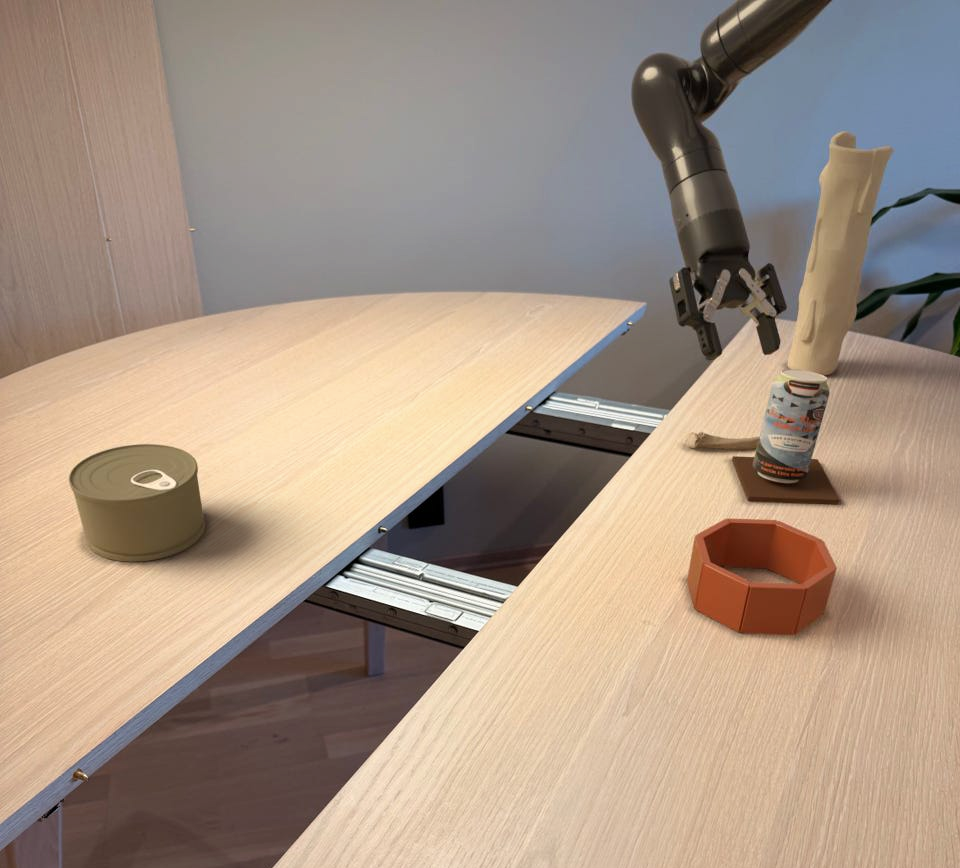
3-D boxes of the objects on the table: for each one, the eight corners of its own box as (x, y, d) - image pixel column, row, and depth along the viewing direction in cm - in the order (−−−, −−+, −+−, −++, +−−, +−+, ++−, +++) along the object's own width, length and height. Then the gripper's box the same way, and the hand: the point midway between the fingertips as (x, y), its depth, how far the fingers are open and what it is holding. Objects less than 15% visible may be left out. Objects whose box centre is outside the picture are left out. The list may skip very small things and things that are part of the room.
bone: (780, 448, 119) (784, 432, 117) (691, 453, 117) (694, 437, 116) (772, 439, 121) (775, 423, 119) (684, 444, 119) (686, 428, 118)
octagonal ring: (802, 565, 97) (814, 521, 94) (834, 636, 88) (848, 590, 85) (681, 561, 97) (689, 516, 94) (699, 632, 88) (708, 585, 85)
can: (154, 492, 106) (142, 433, 102) (231, 526, 101) (223, 465, 97) (58, 537, 98) (42, 475, 94) (137, 576, 93) (123, 512, 89)
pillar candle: (773, 357, 143) (820, 129, 126) (829, 356, 144) (883, 129, 127) (794, 379, 137) (847, 141, 119) (853, 378, 137) (914, 142, 120)
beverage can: (747, 485, 109) (768, 381, 102) (756, 458, 115) (776, 358, 108) (804, 495, 108) (830, 391, 101) (811, 467, 113) (835, 367, 106)
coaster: (816, 463, 116) (817, 458, 115) (839, 504, 108) (840, 499, 107) (731, 460, 116) (732, 456, 115) (747, 501, 108) (748, 496, 107)
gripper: (677, 206, 109) (715, 346, 108) (776, 204, 114) (812, 336, 114) (641, 241, 115) (676, 373, 115) (736, 238, 121) (770, 363, 120)
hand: (744, 354), depth 114 cm, fingers open, 8 cm apart
